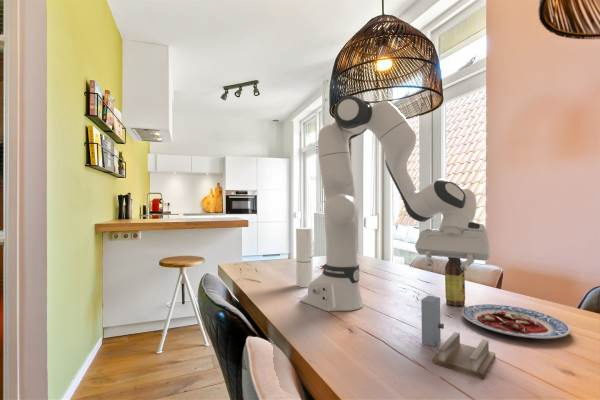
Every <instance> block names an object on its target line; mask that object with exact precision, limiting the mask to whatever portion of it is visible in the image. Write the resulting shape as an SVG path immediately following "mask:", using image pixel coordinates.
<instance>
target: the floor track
mask: <svg viewBox="0 0 600 400" xmlns="http://www.w3.org/2000/svg"><path fill="white" fill-rule="evenodd" d="M460 337H461V334H460V332H455V331H453V333H452V334H451V335H450V336H449V337H448V338H447V339H446V340H445V341H444V342H443V343H442V345H441V346H440V347H439V348H438V352H437V353H436V354H435V355H434V356H433V358H432V364H435V365H437V366H441V367H444V368H447V369H451V370H454V371H456V372H460V373H462V374H467V375H469V374H470V376H473V377H476V378H479V379H482V380H484V379H485V378H486V376H487V374H488V372H489V369H490V368H491V366H492V364H493V362H494V360H495V358H496V352H494V351H491V350H489V346H490V345H489V339H485V338H482V339H481V341H480V342H479V344H478V345H477V346H476V347H475V346H470V345H467V344H464V343H461V339H460Z"/></svg>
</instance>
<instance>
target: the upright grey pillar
mask: <svg viewBox="0 0 600 400" xmlns="http://www.w3.org/2000/svg"><path fill="white" fill-rule="evenodd" d="M420 311H421V344H424V345H427V346H431V347H435V346H436V345H438V343H439V342H440V341H441V340H442V339H441V335H442V334H441V329H442V330H443V329H444V328H445V324H444V323H442V322H441V297H439V296H433V295H429V294H428V295H427V296H425V297H424V298H422V299H421V310H420Z"/></svg>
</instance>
